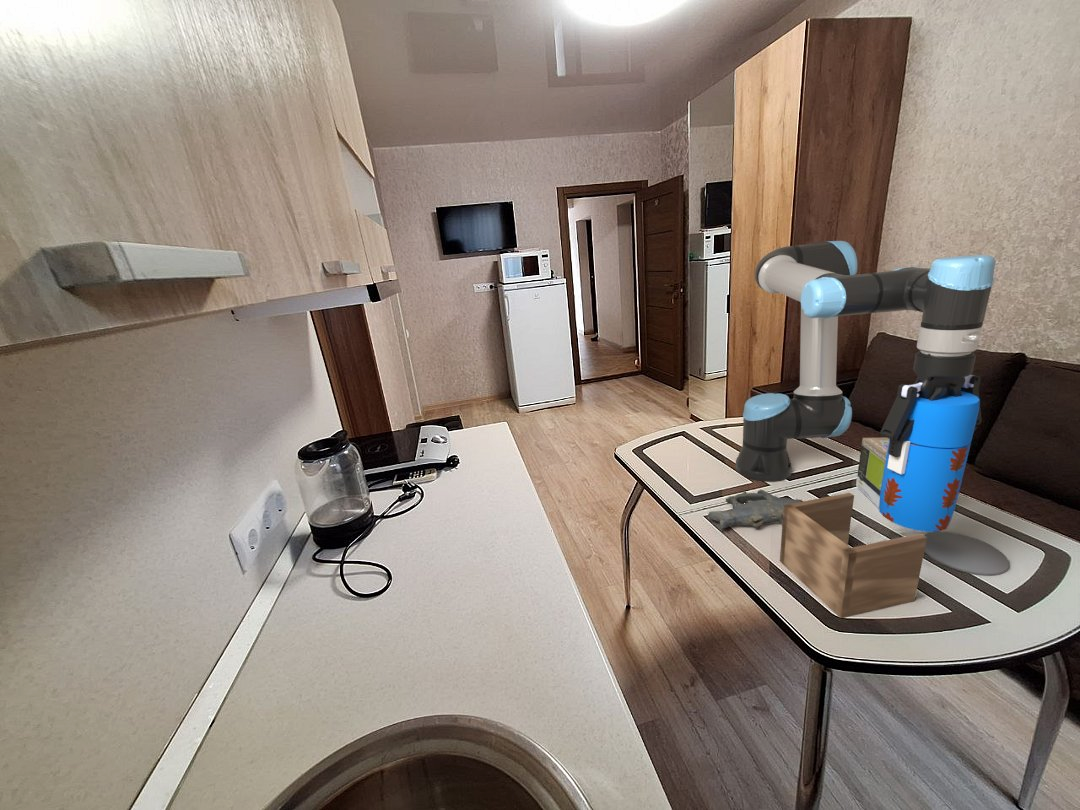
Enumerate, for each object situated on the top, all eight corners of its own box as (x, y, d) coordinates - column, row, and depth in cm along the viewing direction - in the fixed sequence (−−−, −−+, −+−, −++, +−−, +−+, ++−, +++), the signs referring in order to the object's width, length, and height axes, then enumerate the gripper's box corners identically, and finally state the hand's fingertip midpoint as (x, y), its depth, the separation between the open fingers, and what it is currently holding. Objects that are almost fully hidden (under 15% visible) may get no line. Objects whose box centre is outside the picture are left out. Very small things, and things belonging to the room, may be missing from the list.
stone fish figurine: (821, 503, 100) (780, 481, 115) (722, 518, 98) (693, 493, 113) (821, 522, 101) (780, 497, 116) (723, 537, 99) (694, 510, 114)
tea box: (935, 518, 98) (946, 461, 93) (885, 517, 100) (894, 462, 95) (896, 485, 112) (905, 435, 107) (854, 486, 114) (860, 436, 109)
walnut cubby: (779, 561, 90) (783, 505, 86) (842, 548, 92) (849, 492, 88) (840, 618, 75) (849, 553, 71) (914, 601, 77) (927, 537, 72)
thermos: (863, 504, 87) (882, 391, 79) (912, 497, 87) (935, 383, 79) (912, 536, 76) (939, 409, 68) (967, 527, 77) (1000, 400, 69)
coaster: (903, 540, 92) (903, 537, 91) (955, 530, 93) (955, 526, 93) (969, 581, 79) (970, 578, 79) (1027, 568, 81) (1028, 564, 80)
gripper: (906, 365, 67) (886, 486, 74) (1031, 345, 69) (1000, 463, 76) (865, 356, 74) (850, 467, 81) (979, 338, 76) (955, 447, 83)
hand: (923, 465), depth 78 cm, fingers closed on thermos, 11 cm apart
